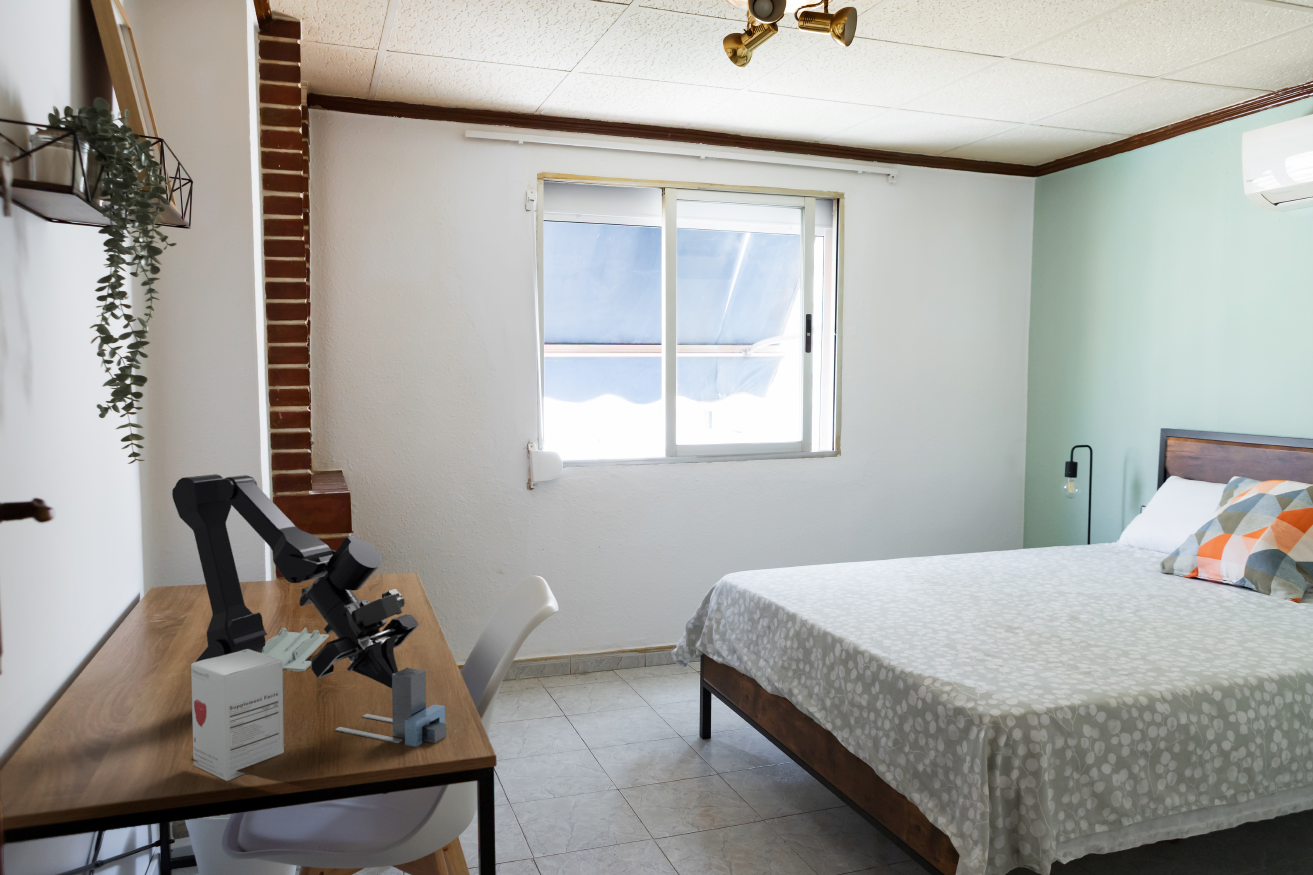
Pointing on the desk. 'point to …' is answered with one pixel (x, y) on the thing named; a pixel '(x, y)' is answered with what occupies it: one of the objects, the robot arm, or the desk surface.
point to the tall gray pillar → (412, 704)
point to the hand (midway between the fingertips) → (398, 687)
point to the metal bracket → (294, 648)
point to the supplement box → (236, 711)
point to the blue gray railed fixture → (406, 725)
